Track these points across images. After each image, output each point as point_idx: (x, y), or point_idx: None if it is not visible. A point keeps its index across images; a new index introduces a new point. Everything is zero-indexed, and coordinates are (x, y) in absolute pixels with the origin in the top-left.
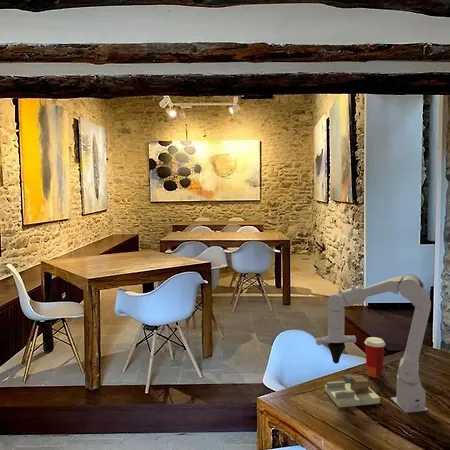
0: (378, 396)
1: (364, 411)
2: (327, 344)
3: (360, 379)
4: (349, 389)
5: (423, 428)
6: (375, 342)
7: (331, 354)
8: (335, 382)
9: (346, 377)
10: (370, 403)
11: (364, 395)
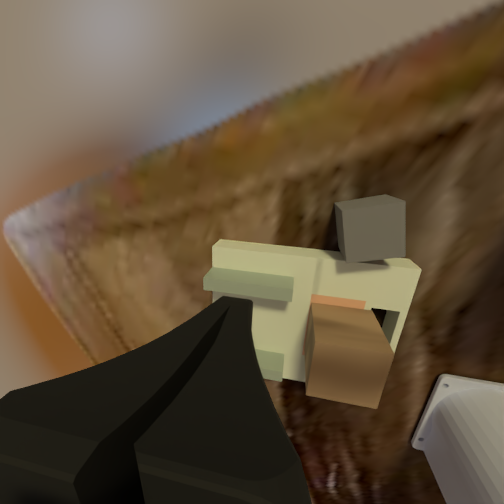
0: None
1: (287, 390)
2: (27, 399)
3: (344, 385)
4: (301, 309)
5: (390, 493)
6: None
7: (185, 323)
8: (242, 291)
9: (344, 236)
10: None
11: None
